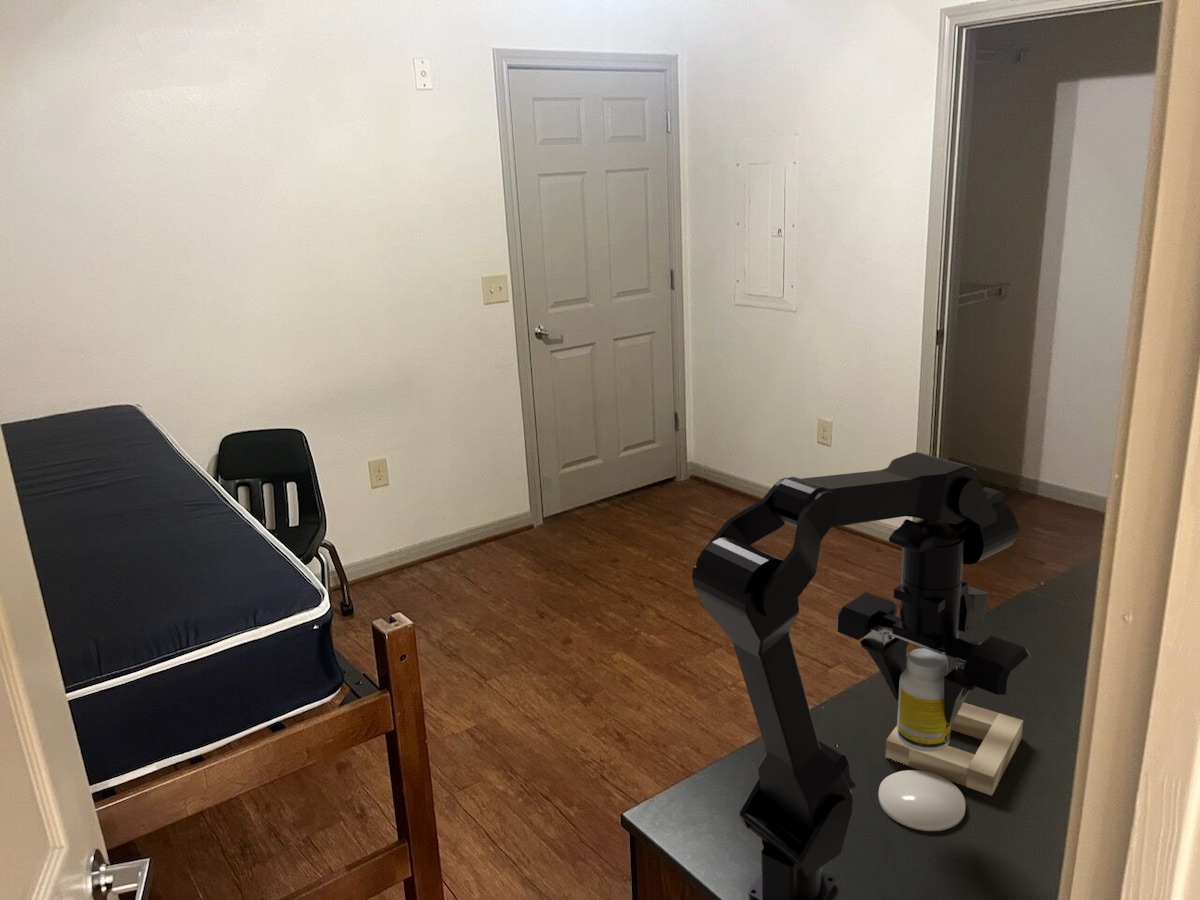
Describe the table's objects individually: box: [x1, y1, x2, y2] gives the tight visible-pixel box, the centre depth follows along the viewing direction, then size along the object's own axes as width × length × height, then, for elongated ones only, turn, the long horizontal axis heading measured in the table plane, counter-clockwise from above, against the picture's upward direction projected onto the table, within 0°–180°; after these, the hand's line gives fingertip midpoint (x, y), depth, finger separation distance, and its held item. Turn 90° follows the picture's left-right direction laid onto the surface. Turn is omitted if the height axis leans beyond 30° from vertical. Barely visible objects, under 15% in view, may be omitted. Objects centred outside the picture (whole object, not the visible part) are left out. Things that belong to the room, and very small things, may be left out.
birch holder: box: [885, 701, 1024, 797], centre depth 107 cm, size 12×12×2 cm
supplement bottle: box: [896, 647, 952, 752], centre depth 95 cm, size 5×5×10 cm
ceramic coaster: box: [878, 769, 966, 832], centre depth 99 cm, size 9×9×1 cm
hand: (924, 710), depth 95 cm, fingers closed on supplement bottle, 5 cm apart
